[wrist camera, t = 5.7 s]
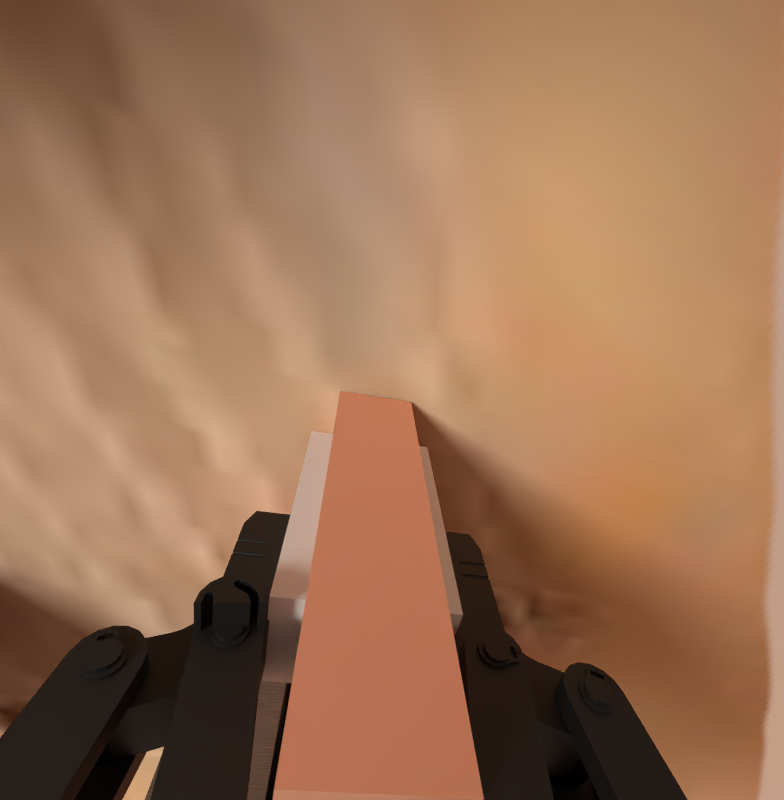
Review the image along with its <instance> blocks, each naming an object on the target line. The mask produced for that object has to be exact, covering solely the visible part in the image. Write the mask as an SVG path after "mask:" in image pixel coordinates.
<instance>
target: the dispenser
mask: <svg viewBox="0 0 784 800" xmlns="http://www.w3.org/2000/svg"><path fill="white" fill-rule="evenodd" d="M287 685H288V683H283V682H269V681H262V680H261V685H260V689H259V693H258V704H257V714H256V723H255V732H254V742H253V751H252V761H251V770H250V780H249V789H248V799H247V800H273V793H274V786H275V780H276V773H277V765H278V757H279V749H280V741H281V733H282V725H283V717H284V709H285V701H286V693H287ZM161 757H162V756H161ZM160 761H161V758H160ZM160 761H159V764H160ZM159 764H158V766H157V769H156V772H155V774H154V777H153V779H152V782H151V785H150V787H149V790H148V793H147V795H146V798H145V800H150V799H151V795H152V791H153V787H154V783H155V780H156V776H157V772H158V768H159Z"/></svg>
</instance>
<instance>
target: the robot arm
mask: <svg viewBox="0 0 784 800" xmlns="http://www.w3.org/2000/svg"><path fill="white" fill-rule="evenodd" d="M332 439H333V434H330V433H323V432H316V431H312V433H311V437H310V441H309V445H308V448H307V452H306V456H305V460H304V464H303V468H302V472H301V476H300V480H299V483H298V487H297V491H296V495H295V499H294V503H293V507H292V511H291V515H287V514H278V513H270V512H261V511H256V512H255V513H254V514H253V515H252V516H251V517H250V518H249V519H248V520H247V521H246V522H245V523H244V525H243V527H242V530H241V532H240V535H239V537H238V541H237V543H236V545H235V548H234V550H233V554H232V555H231V558H230V560H229V563H228V566H227V568H226V571H225V573H224V576H223V577H221V578H219V579H217V580H215V581H213V582H210V583H209V584H208V585H207V586H206V587H205V588H204V589H202V590H201V591H200V592H199V594H198V596H197V598H196V600H195V602H194V624H192V625H190V626H188V627H186V628H184V629H182V630H179V631H176V632H172V633H168V634H163V635H159V636H154V637H149V638H145V637H144V636H143V635H142V633H141V632H140V631H139V630H136V629H134V628H132V627H129V626H112V627H108V628H105V629H101V630H98V631H96V632H94V633H92V634H91V635H89V636H87V637H85V638H84V639H82V640H81V641H80V642H79V643H78V644H77V645H76V646H75V647H74V648H73V649H72V650H70V651H69V653H68V654H67V655H66V656H65V658H64V659H63V660H62V661H61V663H60V664H59V665H58V666H57V668H56V669H55V670H54V671H53V673H52V674H51V675H50V676H49V678H48V679H47V680H46V681H45V683H44V684H43V685H42V686H41V688H40V689H39V690H38V691H37V693H36V694H35V695H34V696H33V698H32V699H31V700H30V701H29V703H28V704H27V705H26V706H25V708H24V709H23V710H22V711H21V713H20V714H19V715H18V716H17V718H16V719H15V720H14V721H13V723H12V724H11V725H10V726H9V728H8V729H7V730H6V731H5V733H4V734H3V735H2V736H1V738H0V800H122V799H123V797H124V795H125V793H126V791H127V789H128V787H129V785H130V784H131V782H132V780H133V778H134V776H135V774H136V772H137V770H138V768H139V766H140V764H141V762H142V760H143V758H144V756H145V754H146V752H147V751H150V750H154V749H157V748H160V747H163V746H164V749H163V753H162V757H161V761H160V764H159V768H158V772H157V776H156V780H155V783H154V787H153V791H152V795H151V799H150V800H247V799H248V789H249V780H250V770H251V761H252V751H253V742H254V732H255V723H256V714H257V704H258V693H259V689H260V685H261V680H262V681H269V682H283V683H292V679H293V673H294V667H295V661H296V655H297V649H298V643H299V637H300V631H301V625H302V619H303V613H304V607H305V601H306V595H307V589H308V583H309V577H310V571H311V565H312V559H313V553H314V547H315V541H316V535H317V529H318V523H319V517H320V511H321V505H322V499H323V493H324V487H325V481H326V475H327V469H328V463H329V457H330V451H331V445H332ZM419 448H420V454H421V459H422V464H423V470H424V475H425V481H426V486H427V492H428V497H429V503H430V508H431V513H432V519H433V524H434V530H435V535H436V541H437V546H438V552H439V557H440V563H441V568H442V573H443V579H444V584H445V590H446V595H447V601H448V606H449V612H450V617H451V622H452V628H453V633H454V639H455V644H456V650H457V655H458V661H459V666H460V672H461V677H462V682H463V688H464V693H465V699H466V704H467V710H468V715H469V721H470V726H471V731H472V737H473V742H474V748H475V753H476V759H477V764H478V770H479V775H480V781H481V786H482V791H483V797H484V800H687V798H686V796H685V795H684V793H683V791H682V790H681V788H680V786H679V785H678V783H677V781H676V780H675V778H674V776H673V775H672V773H671V771H670V770H669V768H668V766H667V765H666V763H665V761H664V760H663V758H662V756H661V754H660V753H659V751H658V749H657V748H656V746H655V744H654V743H653V741H652V739H651V738H650V736H649V734H648V733H647V731H646V729H645V728H644V726H643V724H642V723H641V721H640V719H639V718H638V716H637V714H636V713H635V711H634V709H633V708H632V706H631V704H630V703H629V701H628V699H627V698H626V696H625V694H624V693H623V691H622V690H621V689H620V687H619V686H618V685H617V683H616V682H615V681H614V680H613V679H612V678H611V677H610V676H608V675H607V674H606V673H605V672H604V671H602V670H601V669H599V668H597V667H595V666H593V665H591V664H586V663H580V662H578V663H575V664H572V665H569V667H568V668H567V669H566V671H565V672H564V673H563V672H561V671H559V670H556V669H554V668H551V667H549V666H546V665H544V664H541V663H539V662H537V661H535V660H533V659H531V658H529V657H527V656H526V655H525V654H523V653H522V651H521V648H520V647H519V645H518V644H517V643H516V642H515V640H514V639H513V638H512V637H511V636H510V635H508V634H507V633H506V632H505V629H504V627H503V624H502V620H501V617H500V614H499V610H498V607H497V604H496V600H495V597H494V594H493V590H492V587H491V584H490V580H488V574H487V570H486V567H484V560H483V557H482V554H481V550H480V548H479V547H478V546H477V544H476V543H475V542H474V540H473V539H472V538H471V536H470V535H468V534H459V533H451V532H445V528H444V523H443V518H442V514H441V509H440V504H439V500H438V495H437V490H436V486H435V481H434V476H433V471H432V467H431V462H430V457H429V453H428V448H427V447H423V446H419Z"/></svg>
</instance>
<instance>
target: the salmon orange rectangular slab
mask: <svg viewBox="0 0 784 800" xmlns="http://www.w3.org/2000/svg"><path fill="white" fill-rule="evenodd" d="M273 800H484V797H483V791H482V786H481V781H480V775H479V770H478V764H477V759H476V753H475V748H474V742H473V737H472V731H471V726H470V721H469V715H468V710H467V704H466V699H465V693H464V688H463V682H462V677H461V672H460V666H459V661H458V655H457V650H456V644H455V639H454V633H453V628H452V622H451V617H450V612H449V606H448V601H447V595H446V590H445V584H444V579H443V573H442V568H441V563H440V557H439V552H438V546H437V541H436V535H435V530H434V524H433V519H432V513H431V508H430V503H429V497H428V492H427V486H426V481H425V475H424V470H423V464H422V459H421V454H420V448H419V443H418V437H417V432H416V426H415V421H414V415H413V410H412V404H411V402H407V401H400V400H394V399H387V398H381V397H374V396H368V395H361V394H355V393H348V392H342V391H340V397H339V403H338V409H337V415H336V421H335V427H334V433H333V439H332V445H331V451H330V457H329V463H328V469H327V475H326V481H325V487H324V493H323V499H322V505H321V511H320V517H319V523H318V529H317V535H316V541H315V547H314V553H313V559H312V565H311V571H310V577H309V583H308V589H307V595H306V601H305V607H304V613H303V619H302V625H301V631H300V637H299V643H298V649H297V655H296V661H295V667H294V673H293V679H292V685H291V691H290V697H289V703H288V709H287V715H286V721H285V726H284V732H283V738H282V744H281V750H280V756H279V762H278V768H277V774H276V780H275V786H274V793H273Z"/></svg>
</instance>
